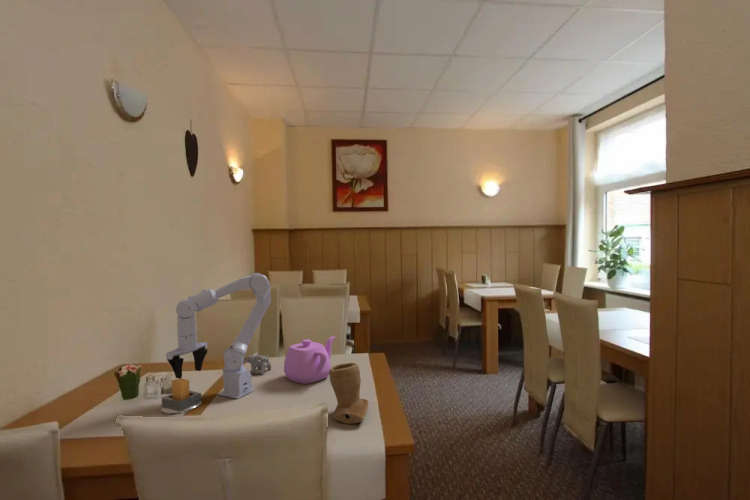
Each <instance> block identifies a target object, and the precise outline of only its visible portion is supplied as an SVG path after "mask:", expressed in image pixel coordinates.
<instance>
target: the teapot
mask: <svg viewBox="0 0 750 500" xmlns="http://www.w3.org/2000/svg"><path fill="white" fill-rule="evenodd" d="M335 338H336V335H333V336H330V337H329V338H328V339H327V340H326V343H325V345H324V344H323V343H320V342H317V341H316V342H315V341H312V340H311V339H309V338H308V339H306V338H305V339H302V340H301V342H300V343H295V344H292V345H291V344H290V345H289V347H288V350H287V353H286V355H285V358H284V362H283V372H284V374H285V376H286V378H288V380H290V381H292V382H294V383H298V384H302V385H305V384H306V385H307V384H310V383H311V384H312V383H314V382H317V381H320V380H323V379H325V378H328V377H329V376H330V375H329V370H330V368H331V367H332V365H331V364H332V363H331V360H330V359H331V357H332V343H333V341H334V339H335Z"/></svg>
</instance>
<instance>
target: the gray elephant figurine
mask: <svg viewBox="0 0 750 500" xmlns="http://www.w3.org/2000/svg"><path fill="white" fill-rule="evenodd" d="M245 363H247V364H250V370H251V371H250V373H251V375H254V374H256V371H257V370H258V371H259V375H260V376H263V375H264V373H265V370H266V369H267V370H269V371H270V370H272V364H271V361H270V356H269V355H262V354H259V353H258V351H256V352H255V353H254V352H253V354H251V355H250V354H249V355H247V356H244V362H243V364H244V365H245Z"/></svg>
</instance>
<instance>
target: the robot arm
mask: <svg viewBox="0 0 750 500" xmlns="http://www.w3.org/2000/svg"><path fill="white" fill-rule="evenodd" d="M250 289H251V291H253V295H254V296H255V299H256V301H255V303H254V305H253V307H252V308H251V310H250V312H249V314H248V316H247V318H246V319H245V321H244V323H243V325H242V327H241V328H240V330H239V332H238V334H237V336H236V338H235V339H234V340H233V342H232V343H231V345H230V346H229V347H228V348H226V350H225V351H224V352H223V354H222V358H223V362H224V366H223V367H222V379H223V382H222V383H223V385H222V386H223V390H222V391H220V392H218V393H217V396H221V397H227V398H231V399H239V398H241V397H244V396H246V395H248V394H249V393H252V392H253V391H254V388H252V386H253V384H252V373H251V371H250V370H248V369H246V367H245V363H244V364H243V362H244V358H245V355H246V353H247V349H248V346H249V344H250V342H251V341H252V339H253V336H254V334H255V333H256V332H257V329H258V327H259V325H260V324H261V322H262V320H263V318H264V316H265V314H266V312H267V310H268V308H269V307H270V305H271V302H272V292H271V283H270V281H269V279H268V277H267V276H266V275H264V274H262V273H260V272H254V273H252V274H249V275H246V276H243V277H239V278H237V279H235V280H233V281H231V282H229V283H227V284H225V285H223V286H221V287H219V288H217V289H212V288H208V289H206V288H204V289H202V290H201V291H200V292H199V293H196V294H194V295H188V297H187V298H188V299H187V298H185V299H182V300H180V301H179V302H178V303H177V305H176V308H175V312H176V314H177V317H176V320H177V322H176V328H177V329H176V331H177V348H176V349H173V350H171V351H168V352H166V353H165V357H166V360H167V362H168V363H169V365H170V366H171V368H172V370H173V372H174V376H175V378H176V379H180V378H182V379H183V363H184V359H185V358H183V357H181V356H184V355H186V354H190V353H192V356H193V360H194V370H195V371H198V372H200V371H202V369H203V368H202V367H203V363H204V359H205V357H206V355H207V353H208V349H207V348H208V342H207V341H202V342H198V343H197V341H198V340H197V321H196V319H195V318H196V315H195V313H196V312H201V311H203V310H205V309H207V308H210V307H211V306H214V305H216V304H217V303H218V301H219V299H221V298H222V297H225V296H227V295H230V294H232V293H235V292H236V291H239V290H250Z"/></svg>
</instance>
